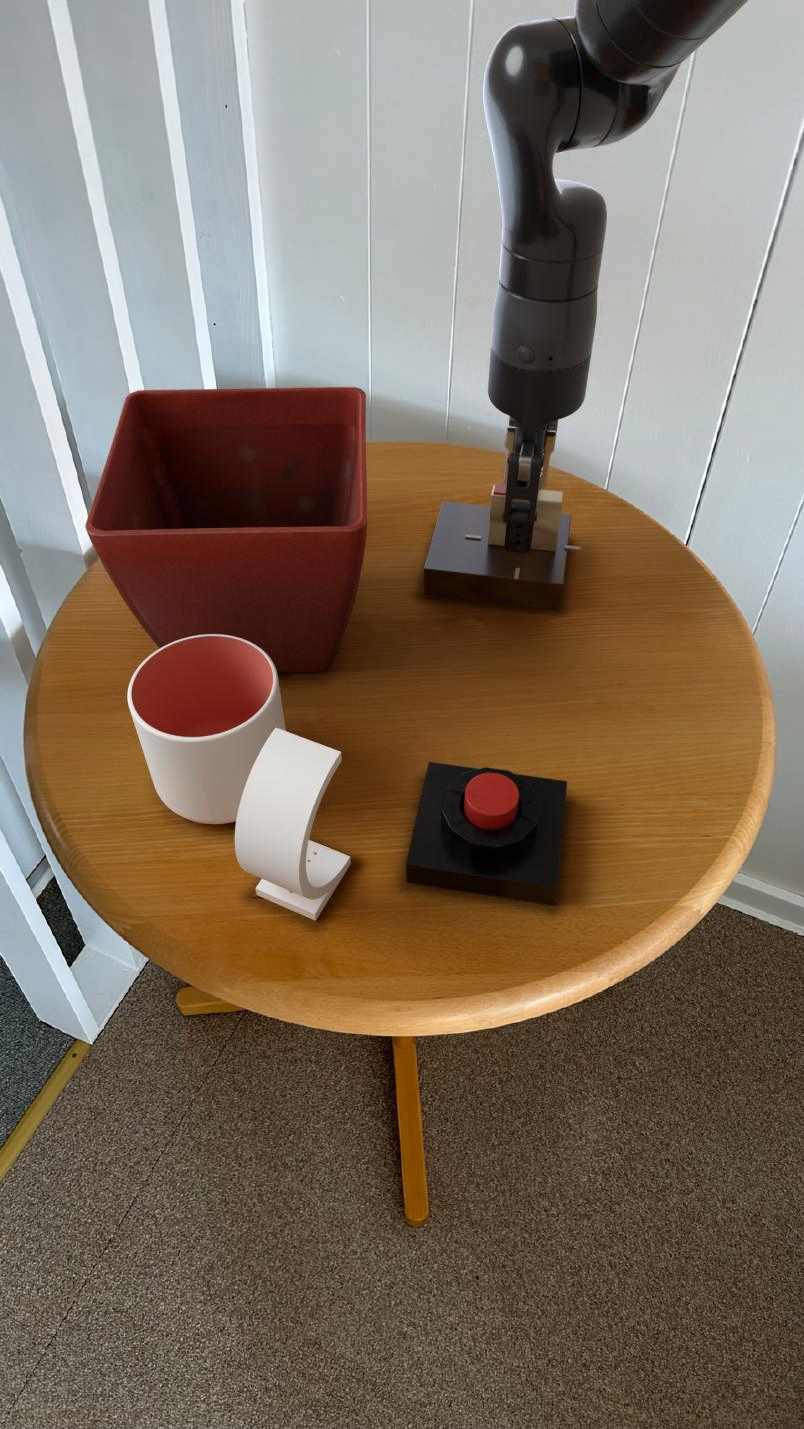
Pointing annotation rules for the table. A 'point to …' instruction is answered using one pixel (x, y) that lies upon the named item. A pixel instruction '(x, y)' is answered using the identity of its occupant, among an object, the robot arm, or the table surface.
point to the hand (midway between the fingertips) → (522, 519)
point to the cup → (204, 721)
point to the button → (491, 801)
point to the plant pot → (238, 516)
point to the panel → (491, 562)
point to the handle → (543, 527)
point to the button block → (488, 838)
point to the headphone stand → (288, 824)
